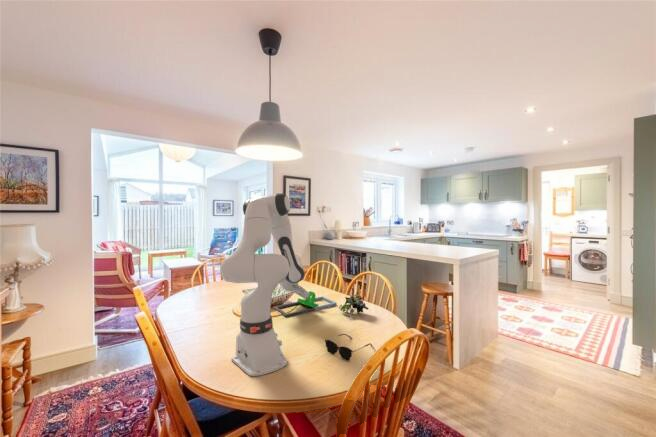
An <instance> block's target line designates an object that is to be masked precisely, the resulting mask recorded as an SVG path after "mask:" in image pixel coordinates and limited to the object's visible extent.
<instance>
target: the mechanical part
mask: <svg viewBox="0 0 656 437" xmlns="http://www.w3.org/2000/svg"><path fill="white" fill-rule="evenodd" d="M307 292H308V293H309V294H310V295H309V297H308V298H307V299H304V298H297V301H296V302H299V303H302V304H303V305H305V306H308V307H311V308H313V307H317V306H320V304H318V303H316V301H315V298H316V293H315V292H314V291H307Z"/></svg>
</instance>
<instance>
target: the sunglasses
mask: <svg viewBox="0 0 656 437" xmlns="http://www.w3.org/2000/svg"><path fill="white" fill-rule="evenodd" d="M340 336H346V337H348V338H349V339H351V340H352V339H353V337H352V336H350V335H348V334H346V333H341V334H338V335H336V336H334V337H330V338H327V339H324V342H325V347H326V351H327V352H328V353H329V352H330V354H332V355H335V354H336V353H337V352H338V353H339V356H340V357H341V359H342V358H343V359H342V360H345V361H346V362H349V361H350V359H351V358H352V354H354V353H355V352H357V351H359V350H362V349H364V348H365V347H368V346H370V347H371V348H372V346H373V344H372V343H370V342H369V343H367V344H365V345H364V346H363V345H362V347H359V348H357V349H354V350H353V349H351V348H349V347H346V346H343V345H342V346H341V345H340V346H339V345H337V343H336V342H334V341H332V340H333V339H335V338H337V337H340Z"/></svg>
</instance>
